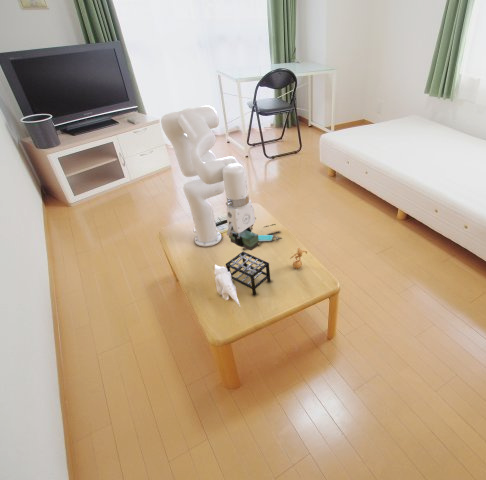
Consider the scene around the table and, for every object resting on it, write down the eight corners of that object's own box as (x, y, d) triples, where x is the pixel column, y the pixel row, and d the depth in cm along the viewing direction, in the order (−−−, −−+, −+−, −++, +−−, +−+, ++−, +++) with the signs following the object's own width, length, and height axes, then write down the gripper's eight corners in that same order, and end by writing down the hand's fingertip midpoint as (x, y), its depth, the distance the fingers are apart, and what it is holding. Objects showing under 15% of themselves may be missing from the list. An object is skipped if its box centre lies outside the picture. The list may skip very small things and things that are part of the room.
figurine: (303, 262, 151) (302, 240, 144) (310, 269, 147) (310, 247, 140) (286, 268, 148) (285, 246, 141) (293, 276, 144) (292, 253, 137)
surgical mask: (277, 222, 170) (284, 232, 163) (277, 230, 173) (284, 239, 165) (237, 232, 162) (242, 243, 155) (238, 240, 165) (244, 250, 158)
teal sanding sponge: (259, 245, 128) (258, 234, 125) (251, 251, 125) (249, 240, 122) (238, 236, 133) (236, 225, 130) (229, 241, 130) (227, 231, 127)
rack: (229, 282, 140) (225, 263, 134) (245, 269, 147) (242, 251, 141) (254, 295, 134) (252, 276, 128) (270, 281, 141) (268, 262, 135)
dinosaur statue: (226, 276, 143) (222, 255, 136) (250, 311, 127) (247, 290, 120) (210, 282, 140) (205, 261, 133) (233, 319, 124) (228, 297, 117)
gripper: (228, 212, 110) (235, 256, 121) (262, 193, 122) (266, 234, 133) (212, 206, 114) (220, 249, 124) (246, 188, 125) (251, 229, 136)
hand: (244, 241), depth 128 cm, fingers closed on teal sanding sponge, 4 cm apart
